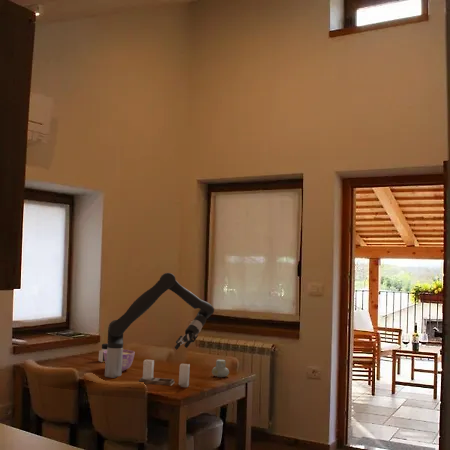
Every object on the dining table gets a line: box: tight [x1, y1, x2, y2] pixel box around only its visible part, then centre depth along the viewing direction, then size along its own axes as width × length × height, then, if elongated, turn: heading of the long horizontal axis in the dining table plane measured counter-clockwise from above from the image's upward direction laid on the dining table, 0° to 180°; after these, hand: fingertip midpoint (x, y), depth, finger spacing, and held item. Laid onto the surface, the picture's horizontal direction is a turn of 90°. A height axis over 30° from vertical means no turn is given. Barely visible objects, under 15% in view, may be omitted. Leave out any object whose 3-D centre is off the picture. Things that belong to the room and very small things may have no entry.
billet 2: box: [178, 363, 191, 388], centre depth 314 cm, size 5×5×12 cm
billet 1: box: [142, 359, 155, 381], centre depth 316 cm, size 5×5×12 cm
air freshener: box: [211, 359, 230, 378], centre depth 346 cm, size 11×8×10 cm
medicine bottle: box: [98, 343, 108, 363], centre depth 378 cm, size 7×7×12 cm
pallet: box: [138, 376, 176, 386], centre depth 315 cm, size 20×11×3 cm, turn 84°
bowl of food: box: [103, 349, 136, 372], centre depth 350 cm, size 20×20×12 cm
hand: (180, 347), depth 322 cm, fingers open, 8 cm apart
